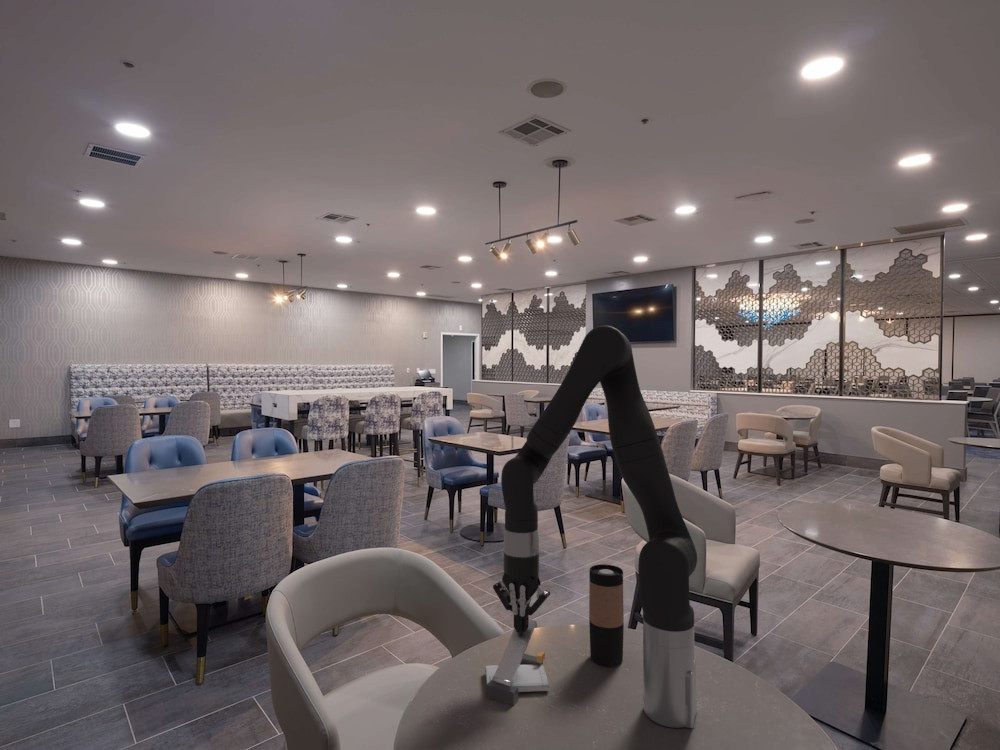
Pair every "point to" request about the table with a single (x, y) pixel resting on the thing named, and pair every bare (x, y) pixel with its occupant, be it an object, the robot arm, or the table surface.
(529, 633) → the grey flat bar
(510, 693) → the bracket
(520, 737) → the table surface
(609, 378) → the robot arm
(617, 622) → the travel mug
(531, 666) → the hard drive
